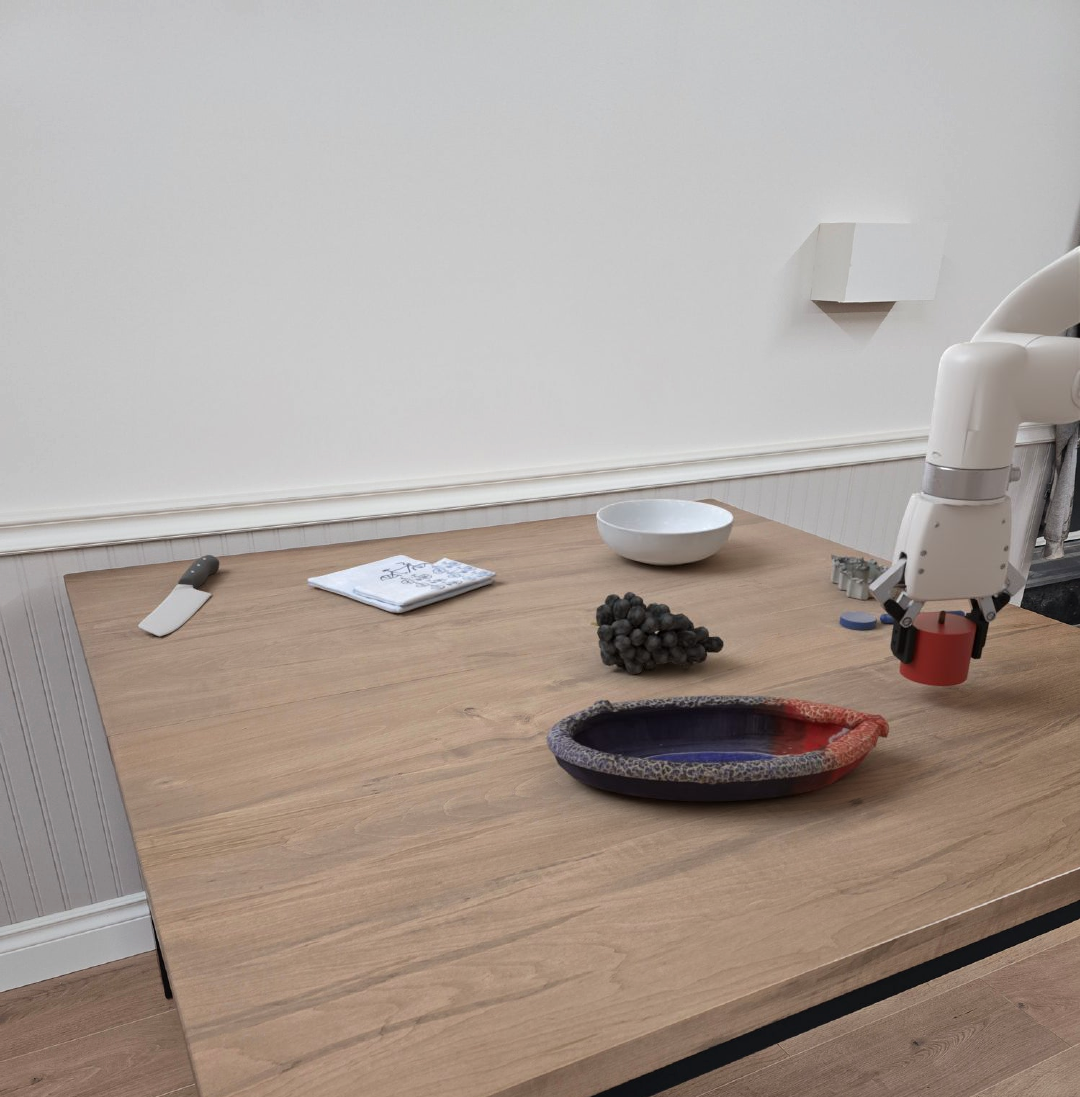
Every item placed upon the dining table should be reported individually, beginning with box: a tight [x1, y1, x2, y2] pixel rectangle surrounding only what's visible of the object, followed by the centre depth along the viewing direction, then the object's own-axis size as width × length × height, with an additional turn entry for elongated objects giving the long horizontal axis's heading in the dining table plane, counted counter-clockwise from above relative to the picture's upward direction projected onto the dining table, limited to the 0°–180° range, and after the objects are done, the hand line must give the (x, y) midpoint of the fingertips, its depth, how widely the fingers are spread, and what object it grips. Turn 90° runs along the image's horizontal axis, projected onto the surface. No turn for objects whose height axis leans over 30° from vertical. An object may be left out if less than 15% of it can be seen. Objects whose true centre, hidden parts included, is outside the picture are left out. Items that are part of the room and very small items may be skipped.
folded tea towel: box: [307, 554, 498, 614], centre depth 138 cm, size 19×20×2 cm
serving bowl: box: [595, 498, 735, 567], centre depth 149 cm, size 21×21×7 cm
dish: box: [546, 694, 890, 802], centre depth 86 cm, size 16×31×5 cm, turn 92°
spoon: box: [839, 609, 966, 631], centre depth 122 cm, size 16×4×1 cm, turn 96°
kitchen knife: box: [137, 554, 220, 637], centre depth 132 cm, size 29×3×5 cm
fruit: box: [590, 591, 725, 675], centre depth 108 cm, size 9×8×15 cm
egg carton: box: [830, 553, 898, 601], centre depth 135 cm, size 11×8×4 cm
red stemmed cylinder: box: [898, 610, 976, 687], centre depth 99 cm, size 7×7×7 cm
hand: (935, 655), depth 99 cm, fingers closed on red stemmed cylinder, 6 cm apart
